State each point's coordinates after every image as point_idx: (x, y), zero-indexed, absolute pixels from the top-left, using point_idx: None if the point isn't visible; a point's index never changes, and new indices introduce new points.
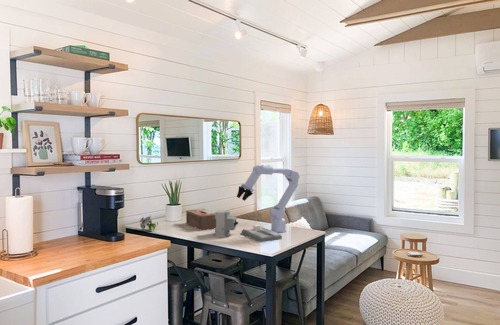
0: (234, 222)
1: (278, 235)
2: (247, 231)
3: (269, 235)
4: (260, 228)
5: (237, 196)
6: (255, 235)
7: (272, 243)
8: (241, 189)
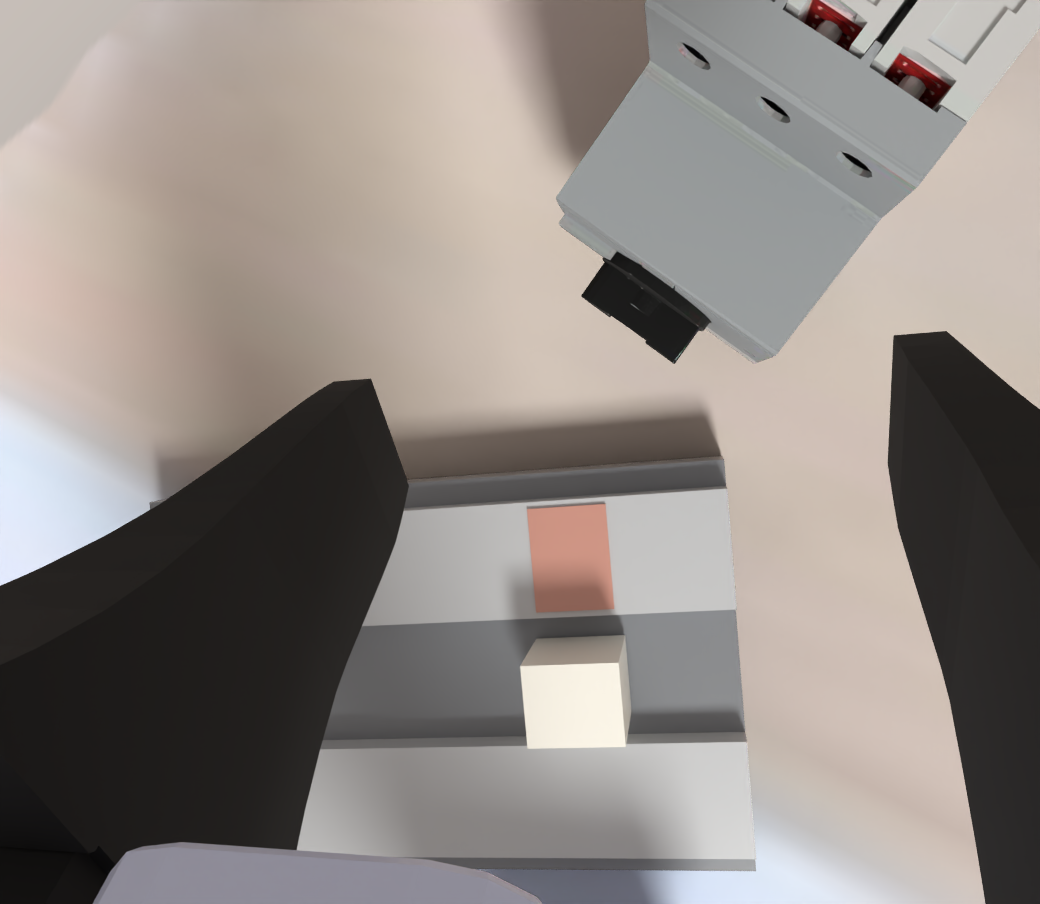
0: (582, 241)
1: None
2: (560, 498)
3: None
4: (629, 782)
5: (899, 361)
6: None
7: None
8: (1034, 726)
